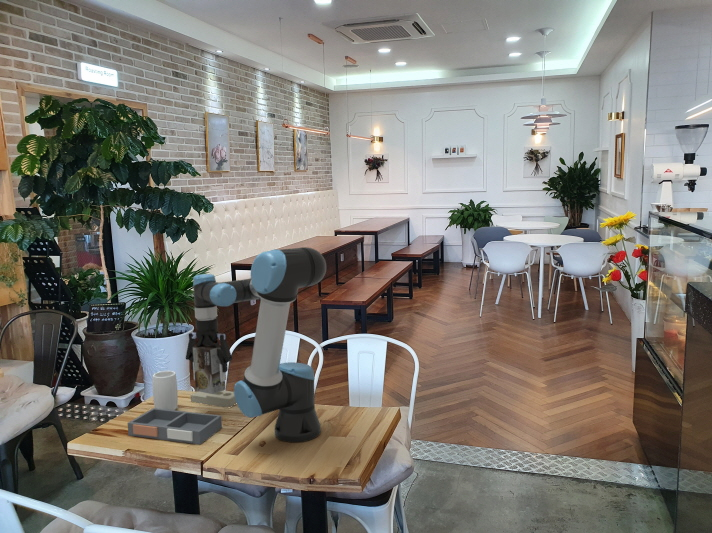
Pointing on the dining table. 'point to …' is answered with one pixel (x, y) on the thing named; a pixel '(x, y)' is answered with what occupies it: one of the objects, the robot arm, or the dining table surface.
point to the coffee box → (207, 369)
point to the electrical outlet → (215, 398)
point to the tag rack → (175, 426)
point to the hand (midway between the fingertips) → (210, 379)
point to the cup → (165, 390)
